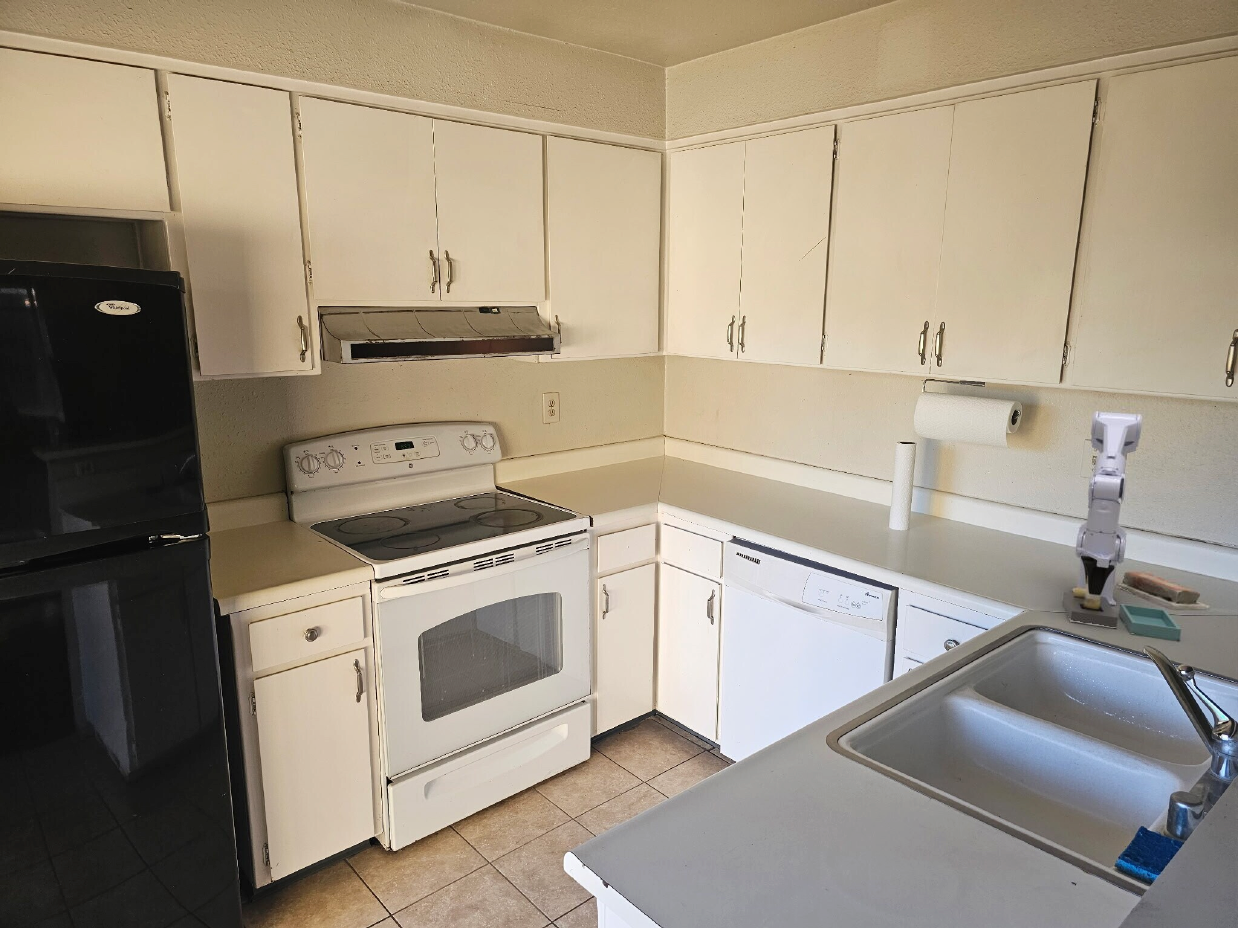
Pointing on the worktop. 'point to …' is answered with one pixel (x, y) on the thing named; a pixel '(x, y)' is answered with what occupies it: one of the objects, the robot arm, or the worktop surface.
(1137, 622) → the parts tray
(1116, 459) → the robot arm
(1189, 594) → the packaged product
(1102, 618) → the fuse board
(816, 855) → the worktop surface
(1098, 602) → the cylinder
